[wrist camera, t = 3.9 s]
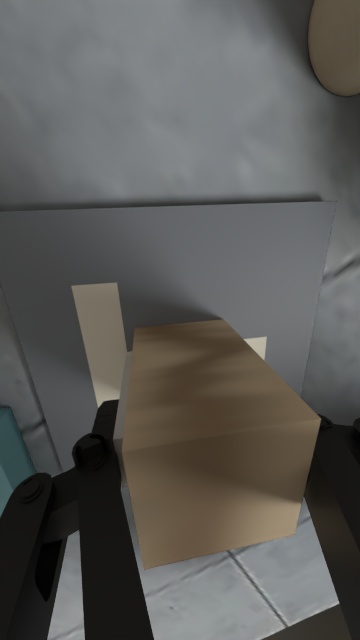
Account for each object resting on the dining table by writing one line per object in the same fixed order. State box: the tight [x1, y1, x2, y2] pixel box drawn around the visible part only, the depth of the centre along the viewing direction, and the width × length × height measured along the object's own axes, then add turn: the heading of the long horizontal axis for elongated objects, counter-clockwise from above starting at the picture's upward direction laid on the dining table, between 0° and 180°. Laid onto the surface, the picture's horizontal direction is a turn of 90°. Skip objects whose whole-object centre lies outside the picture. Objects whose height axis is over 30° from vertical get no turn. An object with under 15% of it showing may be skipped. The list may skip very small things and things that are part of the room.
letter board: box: [0, 201, 336, 473], centre depth 16 cm, size 20×20×1 cm
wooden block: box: [122, 319, 321, 570], centre depth 12 cm, size 6×6×9 cm
